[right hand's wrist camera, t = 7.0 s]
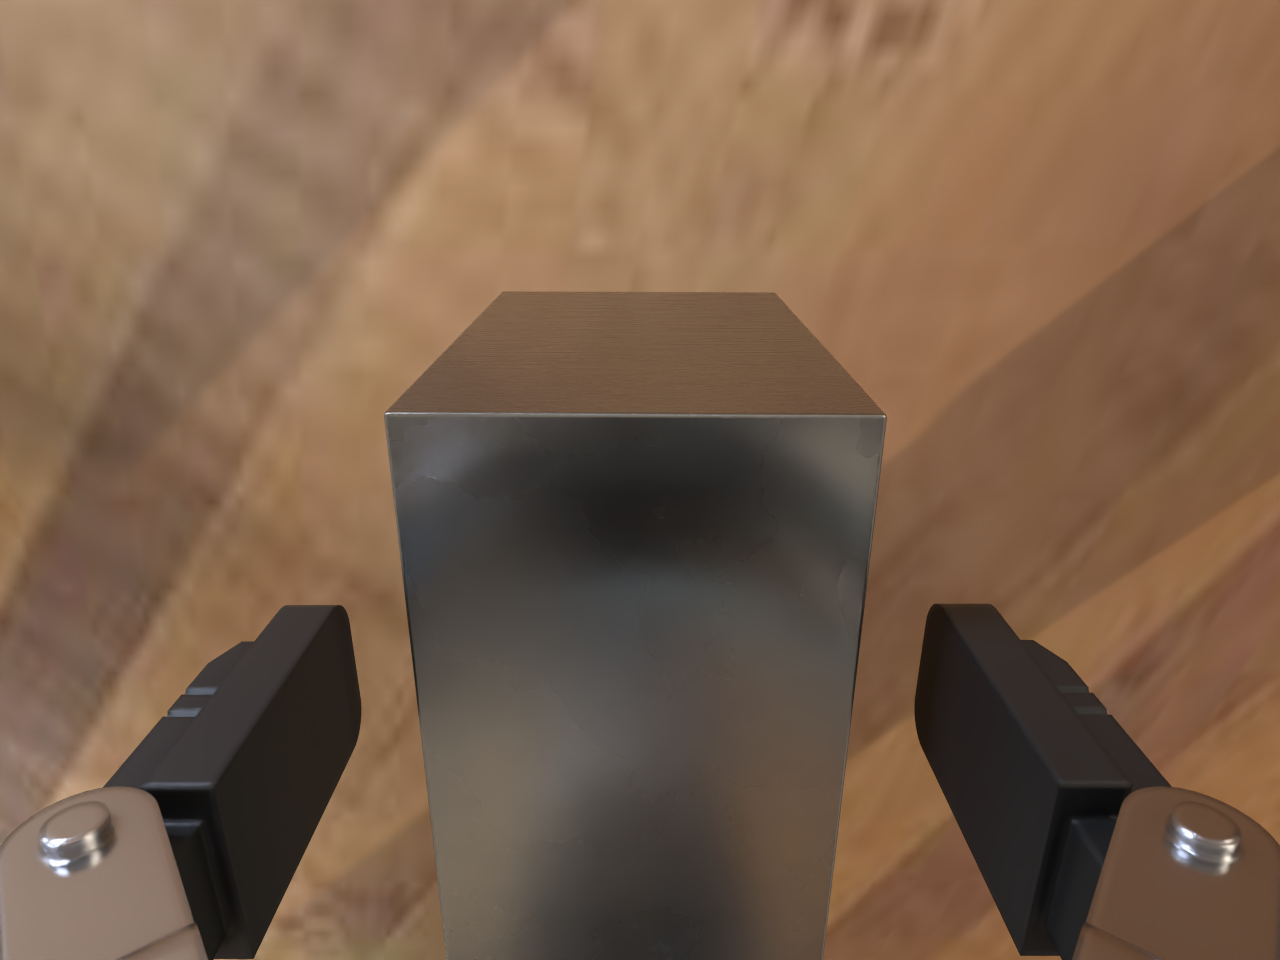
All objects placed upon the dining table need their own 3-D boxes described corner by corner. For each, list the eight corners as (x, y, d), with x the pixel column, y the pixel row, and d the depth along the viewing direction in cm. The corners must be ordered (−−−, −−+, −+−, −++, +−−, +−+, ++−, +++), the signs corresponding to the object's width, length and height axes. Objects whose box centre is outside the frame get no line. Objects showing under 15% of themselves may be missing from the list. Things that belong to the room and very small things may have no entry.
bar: (501, 291, 17) (382, 413, 9) (776, 292, 17) (888, 414, 9) (547, 1090, 27) (507, 1488, 19) (725, 1091, 27) (761, 1490, 19)
